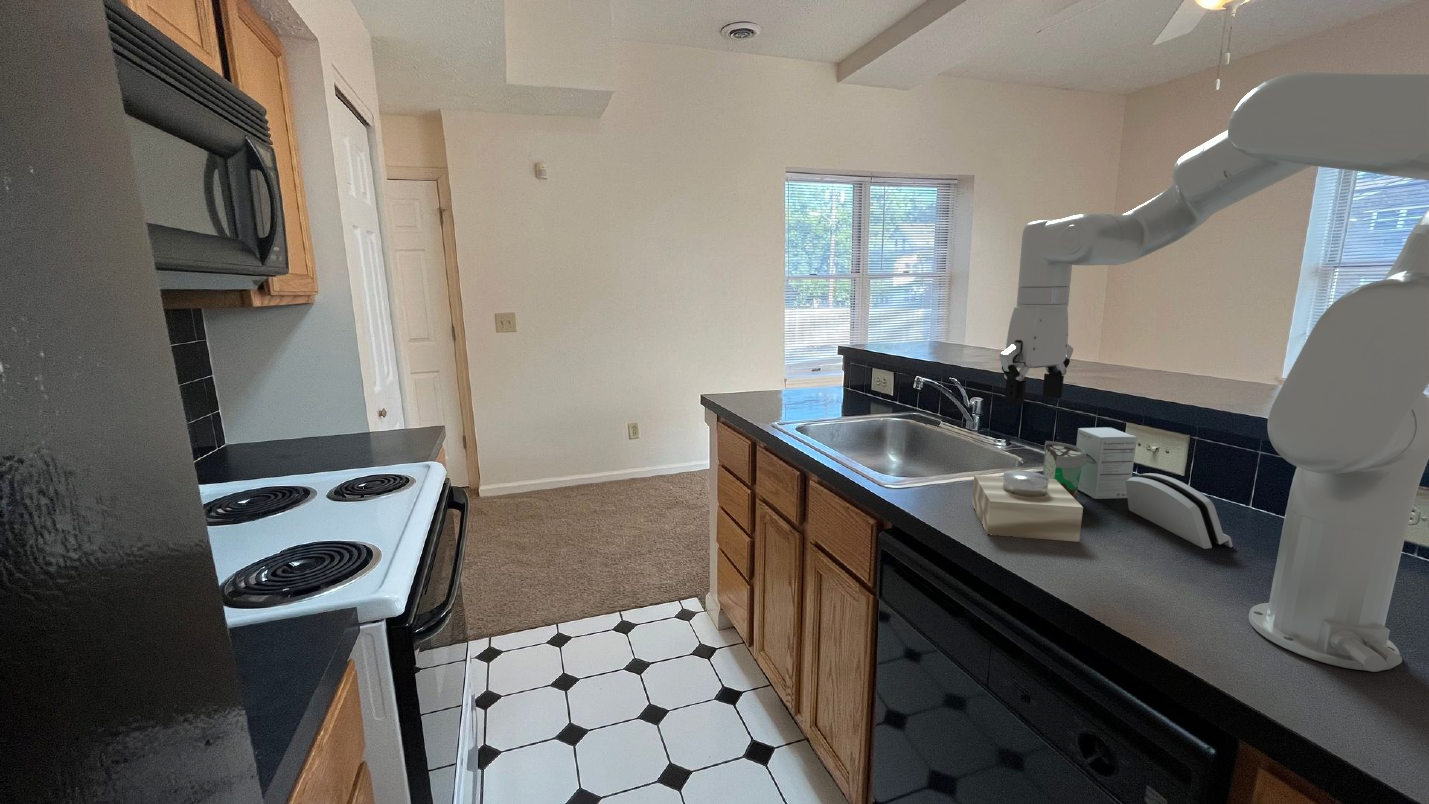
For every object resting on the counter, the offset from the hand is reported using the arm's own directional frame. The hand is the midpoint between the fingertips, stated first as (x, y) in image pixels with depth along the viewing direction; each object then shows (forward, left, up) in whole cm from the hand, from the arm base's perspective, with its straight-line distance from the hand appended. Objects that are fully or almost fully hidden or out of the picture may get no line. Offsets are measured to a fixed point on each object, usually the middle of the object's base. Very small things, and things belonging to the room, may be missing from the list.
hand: (1033, 400), depth 102 cm
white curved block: (+2, -24, -23) cm, 33 cm away
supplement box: (+19, -19, -22) cm, 35 cm away
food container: (+14, -11, -22) cm, 29 cm away
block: (0, 0, -22) cm, 22 cm away
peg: (0, 0, -22) cm, 22 cm away
